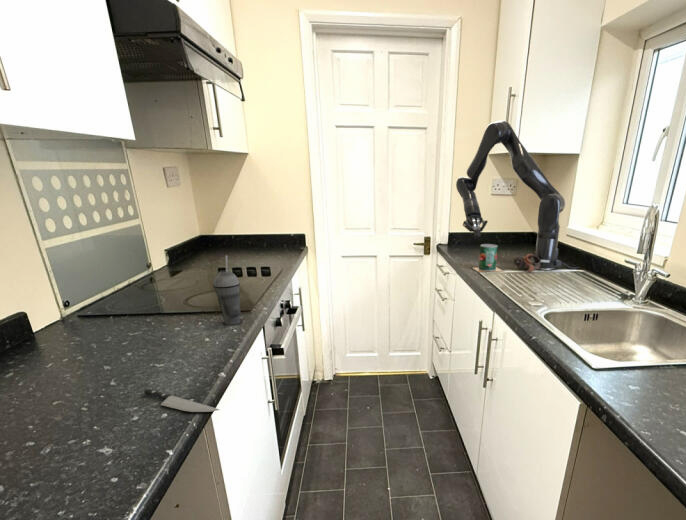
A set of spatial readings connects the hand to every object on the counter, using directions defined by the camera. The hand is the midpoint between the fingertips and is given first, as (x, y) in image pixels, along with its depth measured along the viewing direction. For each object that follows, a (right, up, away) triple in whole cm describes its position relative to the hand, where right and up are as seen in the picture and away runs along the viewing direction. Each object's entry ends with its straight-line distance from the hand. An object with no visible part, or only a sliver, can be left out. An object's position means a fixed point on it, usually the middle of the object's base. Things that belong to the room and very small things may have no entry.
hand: (478, 237), depth 201 cm
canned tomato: (+2, -17, -10) cm, 20 cm away
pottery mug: (+20, -18, -11) cm, 29 cm away
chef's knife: (-82, -63, -122) cm, 160 cm away
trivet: (+2, -17, -10) cm, 20 cm away
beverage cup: (-89, -45, -78) cm, 127 cm away
